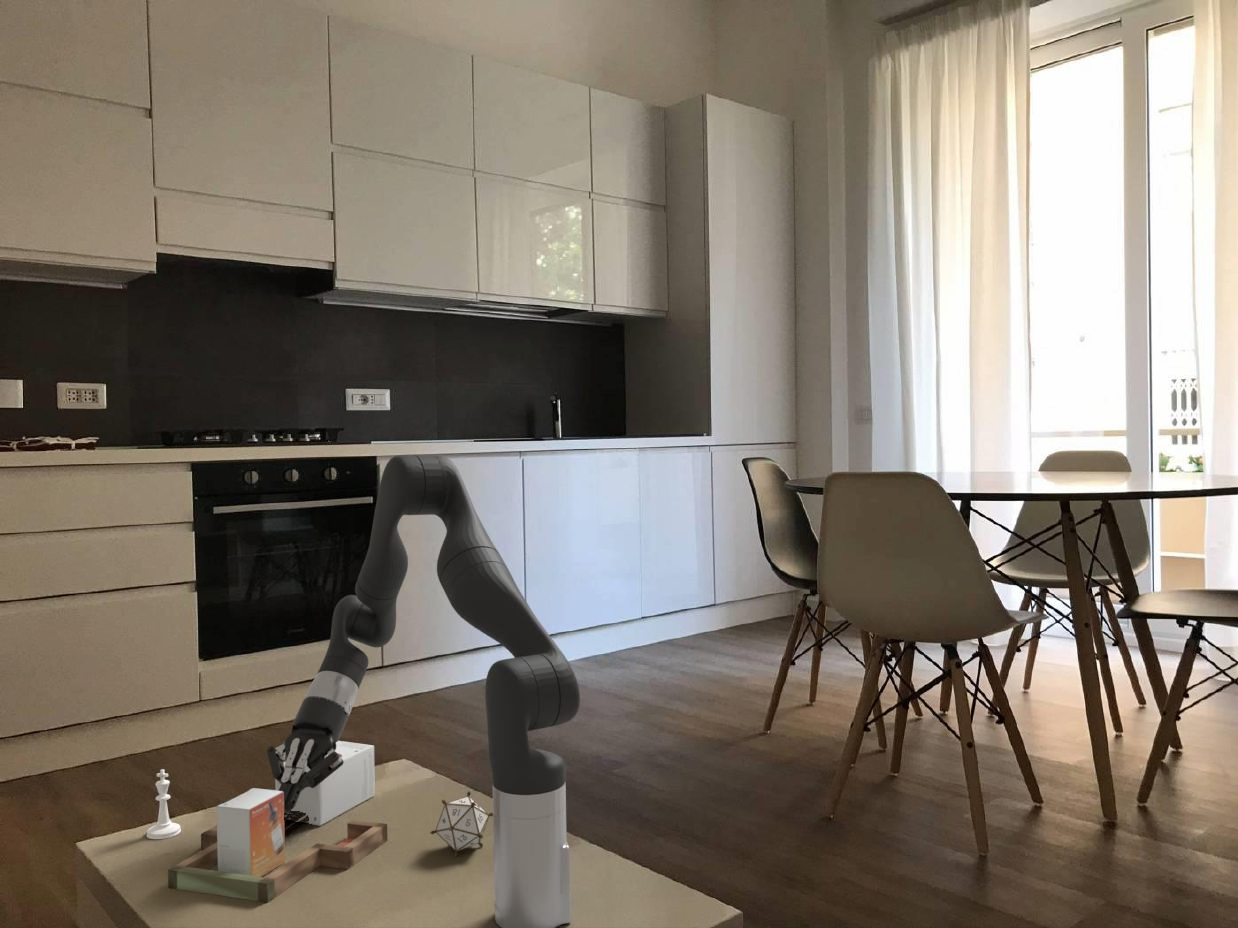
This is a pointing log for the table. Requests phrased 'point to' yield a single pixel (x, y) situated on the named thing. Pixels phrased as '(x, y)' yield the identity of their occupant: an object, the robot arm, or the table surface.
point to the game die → (462, 823)
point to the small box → (251, 833)
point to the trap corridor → (344, 855)
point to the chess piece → (163, 812)
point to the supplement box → (340, 785)
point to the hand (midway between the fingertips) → (281, 810)
